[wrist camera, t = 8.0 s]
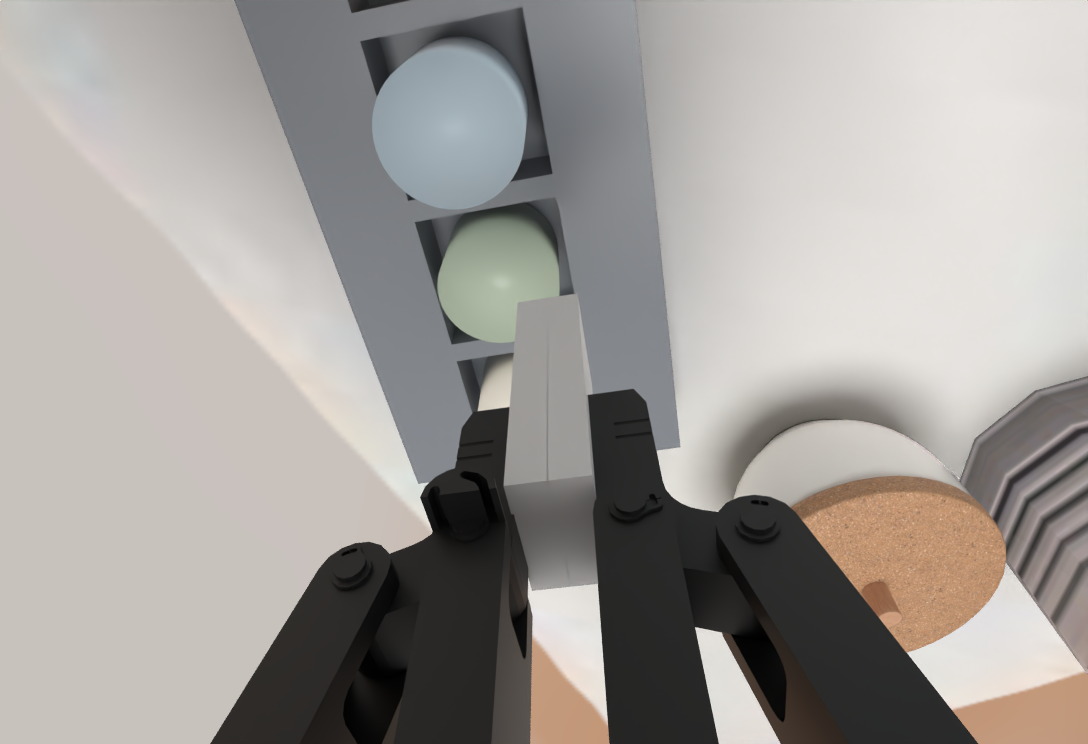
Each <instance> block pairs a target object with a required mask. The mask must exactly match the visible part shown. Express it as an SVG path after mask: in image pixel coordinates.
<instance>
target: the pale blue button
mask: <svg viewBox="0 0 1088 744" xmlns="http://www.w3.org/2000/svg"><path fill="white" fill-rule="evenodd" d="M527 118H528V104H527V96H526V92H525V88H524V86H523V83H522V81H521V78H520V76H519V75H518V73H517V71H516V69H515V68H514V67H513V65H512V64H511V62H510V61H509V60H508V59H507V58H506V57H505V56H504V55H503V54H502V53H500V52H499V51H498V50H497V49H495V48H494V47H492V46H490V45H489V44H487V43H484V42H482V41H480V40H477V39H473V38H469V37H460V36H453V37H445V38H441V39H438V40H435V41H433V42H431V43H428V44H427V45H425V46H424V47H422V48H421V49H419V50H418V51H417V52H416V53H415V54H414V55H412V56H411V57H410V58H409V59H408V60H407V61H405V62H404V63H403V64H402V65H401V66H400V67H399V68H397V69H396V70H395V71H394V72H393V73H392V74H391V75H390V76H389V78H388V79H387V80H386V81H385V83H384V85H383V86H382V88H381V89H380V92H379V94H378V96H377V99H376V102H375V105H374V109H373V116H372V133H373V141H374V145H375V149H376V152H377V154H378V157H379V160H380V161H381V163H382V165H383V167H384V169H385V170H386V172H387V173H388V175H389V176H390V178H391V179H392V180H393V181H394V182H395V183H396V184H397V185H398V186H399V187H400V188H401V189H402V190H403V191H404V192H406V193H407V194H408V195H410V196H411V197H413V198H415V199H416V200H418V201H420V202H422V203H425V204H427V205H430V206H433V207H437V208H442V209H467V208H471V207H475V206H478V205H480V204H483V203H485V202H487V201H489V200H491V199H492V198H494V197H495V196H496V195H498V194H499V193H500V192H501V191H502V190H503V189H504V188H505V187H506V186H507V185H508V184H509V183H510V181H511V180H512V179H513V177H514V175H515V173H516V172H517V170H518V167H519V165H520V162H521V159H522V155H523V151H524V143H525V135H526V126H527Z"/></svg>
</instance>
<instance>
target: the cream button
mask: <svg viewBox="0 0 1088 744" xmlns="http://www.w3.org/2000/svg"><path fill="white" fill-rule="evenodd" d="M513 357H514V352H513V353H507V354H500V355H494V356H488V358H487V360H486V363H485V366H484V373H483V379H482V386H481V393H480V399H479V406H478V411H483V410H491V409H498V408H505V407H510V396H511V383H512V370H513Z"/></svg>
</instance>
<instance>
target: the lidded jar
mask: <svg viewBox="0 0 1088 744" xmlns="http://www.w3.org/2000/svg"><path fill="white" fill-rule="evenodd" d="M748 495H761V496H769V497H772V498H775V499H777V500H779V501H782V502H784V503H786V504H787V505H788V506H789V507H790V508H791V509H793V510H794V511H795V512H796V513H797V514H798V516H799V517H800V518H801V520H802V521H803V522H804V523H805V525H806V526H807V527H808V528H809V530H810V531H811V532H812V533H813V535H814V536H815V537H816V539H817V540H818V541H819V542H820V544H821V545H822V546H823V547H824V549H825V550H826V551H827V552H828V554H829V555H830V556H831V558H832V559H833V560H834V561H835V563H836V564H837V565H838V566H839V568H840V569H841V570H842V572H843V573H844V574H845V575H846V577H847V578H848V579H849V580H850V582H851V583H852V584H853V585H854V587H855V588H856V589H857V591H858V592H859V593H860V594H861V596H862V597H863V598H864V599H865V601H866V602H867V603H868V605H869V606H870V607H871V608H872V610H873V611H874V612H875V613H876V615H877V616H878V617H879V618H880V620H881V621H882V622H883V624H884V625H885V626H886V627H887V629H888V630H889V631H890V632H891V634H892V635H893V636H894V637H895V639H896V640H897V641H898V643H899V644H900V645H901V646H902V648H903V649H904V650H905V651H906V653H907V652H910V651H913V650H916V649H919V648H921V647H924V646H926V645H928V644H931V643H933V642H935V641H937V640H939V639H941V638H943V637H944V636H946V635H948V634H950V633H952V632H953V631H955V630H956V629H958V628H959V627H961V626H962V625H964V624H965V623H966V622H968V621H969V620H970V619H971V618H972V617H973V616H974V615H976V614H977V613H978V612H979V611H980V610H981V609H982V608H983V607H984V605H985V604H986V603H987V602H988V601H989V600H990V598H991V597H992V595H993V594H994V592H995V591H996V589H997V588H998V585H999V583H1000V581H1001V579H1002V576H1003V574H1004V568H1005V563H1006V544H1005V541H1004V538H1003V535H1002V532H1001V530H1000V529H999V527H998V526H997V524H996V523H995V521H994V520H993V519H992V517H991V516H990V514H989V513H988V512H987V511H986V509H985V508H984V507H983V506H982V505H981V504H980V503H978V502H977V501H976V500H975V499H974V498H973V497H972V496H971V495H970V493H969V492H968V491H967V489H966V488H965V487H964V486H963V485H962V483H961V482H960V481H959V480H958V479H957V477H956V476H955V475H954V474H953V473H952V472H951V471H950V470H949V469H948V468H947V467H946V466H944V465H943V464H942V463H941V462H940V461H939V460H938V459H937V458H936V457H935V456H934V455H933V454H932V453H930V452H929V451H928V450H926V449H925V448H924V447H922V446H921V445H920V444H918V443H917V442H915V441H913V440H912V439H910V438H908V437H907V436H905V435H903V434H901V433H899V432H896V431H894V430H892V429H889V428H887V427H884V426H881V425H877V424H872V423H868V422H863V421H858V420H815V421H809V422H805V423H802V424H798V425H796V426H793V427H791V428H789V429H787V430H785V431H783V432H782V433H780V434H778V435H777V436H776V437H774V438H773V439H772V440H771V441H770V442H769V443H768V444H767V445H766V446H765V447H764V448H763V450H762V451H761V452H760V453H759V454H758V455H757V456H756V457H755V458H754V459H753V460H752V462H751V463H750V464H749V465H748V467H747V468H746V470H745V472H744V474H743V476H742V478H741V480H740V482H739V483H738V486H737V489H736V492H735V495H734V499H736V498H738V497H742V496H748ZM734 499H733V500H734Z"/></svg>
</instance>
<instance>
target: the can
mask: <svg viewBox="0 0 1088 744" xmlns="http://www.w3.org/2000/svg"><path fill="white" fill-rule="evenodd" d="M960 482H961V483H962V485H963V486H964V487H965V488H966V489H967V491H968V492H969V493H970V495H971V496H972V497H973V498H974V499H975V500H976V501H977V502H978V503H980V504H981V505H982V506H983V507H984V508H985V509H986V511H987V512H988V513H989V514H990V516H991V517H992V519H993V520H994V521H995V523H996V524H997V526H998V527H999V529H1000V530H1001V532H1002V535H1003V538H1004V541H1005V544H1006V563H1007V564H1008V566H1009V567H1010V569H1011V570H1012V571H1013V573H1014V574H1015V575H1016V577H1017V578H1018V579H1019V581H1020V582H1021V584H1022V585H1023V586H1024V588H1025V589H1026V590H1027V592H1028V593H1029V595H1030V596H1031V597H1032V599H1033V600H1034V601H1035V603H1036V604H1037V606H1038V607H1039V608H1040V610H1041V611H1042V612H1043V614H1044V615H1045V616H1046V618H1047V619H1048V621H1049V622H1050V623H1051V625H1052V626H1053V627H1054V629H1055V630H1056V632H1057V633H1058V634H1059V636H1060V637H1061V638H1062V640H1063V641H1064V643H1065V644H1066V645H1067V647H1068V648H1069V649H1070V651H1071V652H1072V654H1073V655H1074V656H1075V658H1076V659H1077V660H1078V662H1079V663H1080V664H1081V666H1082V667H1083V669H1084V670H1085V671H1086V673H1087V674H1088V376H1087V377H1084V378H1080V379H1076V380H1073V381H1069V382H1065V383H1062V384H1058V385H1055V386H1051V387H1047V388H1044V389H1040V390H1036V391H1034V392H1033V393H1032V394H1031V395H1029V396H1028V397H1027V398H1026V399H1024V400H1023V401H1022V402H1021V403H1019V404H1018V405H1017V406H1016V407H1014V408H1013V409H1012V410H1011V411H1009V412H1008V413H1007V414H1005V415H1004V416H1003V417H1002V418H1000V419H999V420H998V421H997V422H995V423H994V424H993V425H992V426H990V427H989V428H988V429H987V430H985V431H984V432H983V433H982V434H980V435H979V436H978V437H977V438H975V440H974V443H973V446H972V448H971V451H970V454H969V457H968V459H967V462H966V465H965V468H964V470H963V473H962V476H961V479H960Z"/></svg>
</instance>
